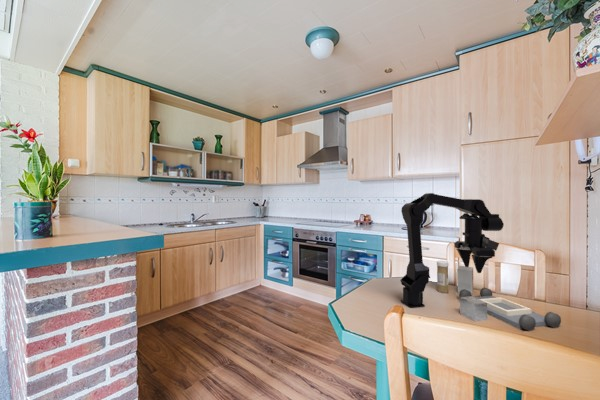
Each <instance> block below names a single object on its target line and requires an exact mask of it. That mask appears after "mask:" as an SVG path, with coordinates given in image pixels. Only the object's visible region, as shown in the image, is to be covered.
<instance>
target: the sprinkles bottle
mask: <svg viewBox="0 0 600 400" xmlns="http://www.w3.org/2000/svg"><path fill="white" fill-rule="evenodd" d="M436 266H437V267H436V268H437V269H436V277H437V278H436V281H437V282H436V283H437V289H436V290H437V292H439V293H443V294H447V293H449V262H448V261H446V260H437V261H436Z"/></svg>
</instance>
